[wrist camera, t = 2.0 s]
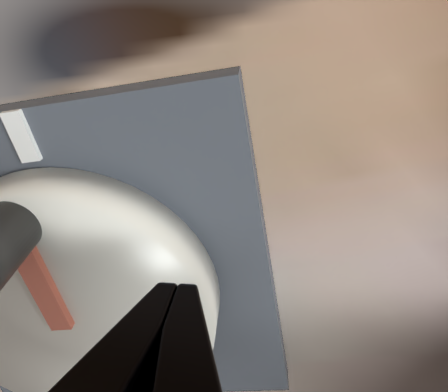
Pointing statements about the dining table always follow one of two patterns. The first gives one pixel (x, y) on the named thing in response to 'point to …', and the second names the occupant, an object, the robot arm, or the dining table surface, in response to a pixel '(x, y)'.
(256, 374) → the base plate
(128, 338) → the robot arm
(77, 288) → the dial
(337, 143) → the dining table surface
